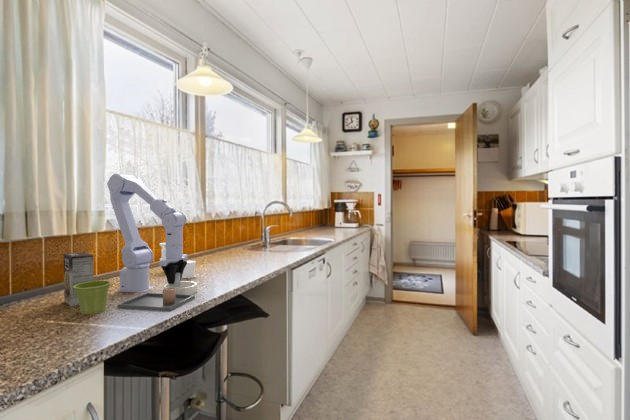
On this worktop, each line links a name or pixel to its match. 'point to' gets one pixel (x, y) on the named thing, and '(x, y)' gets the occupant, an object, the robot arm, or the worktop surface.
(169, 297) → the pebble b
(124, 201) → the robot arm
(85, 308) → the plant pot
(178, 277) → the grey rounded cylinder
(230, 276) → the worktop surface
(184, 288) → the bowl
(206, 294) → the worktop surface
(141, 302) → the tray
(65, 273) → the coffee box
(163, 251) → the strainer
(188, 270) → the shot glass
